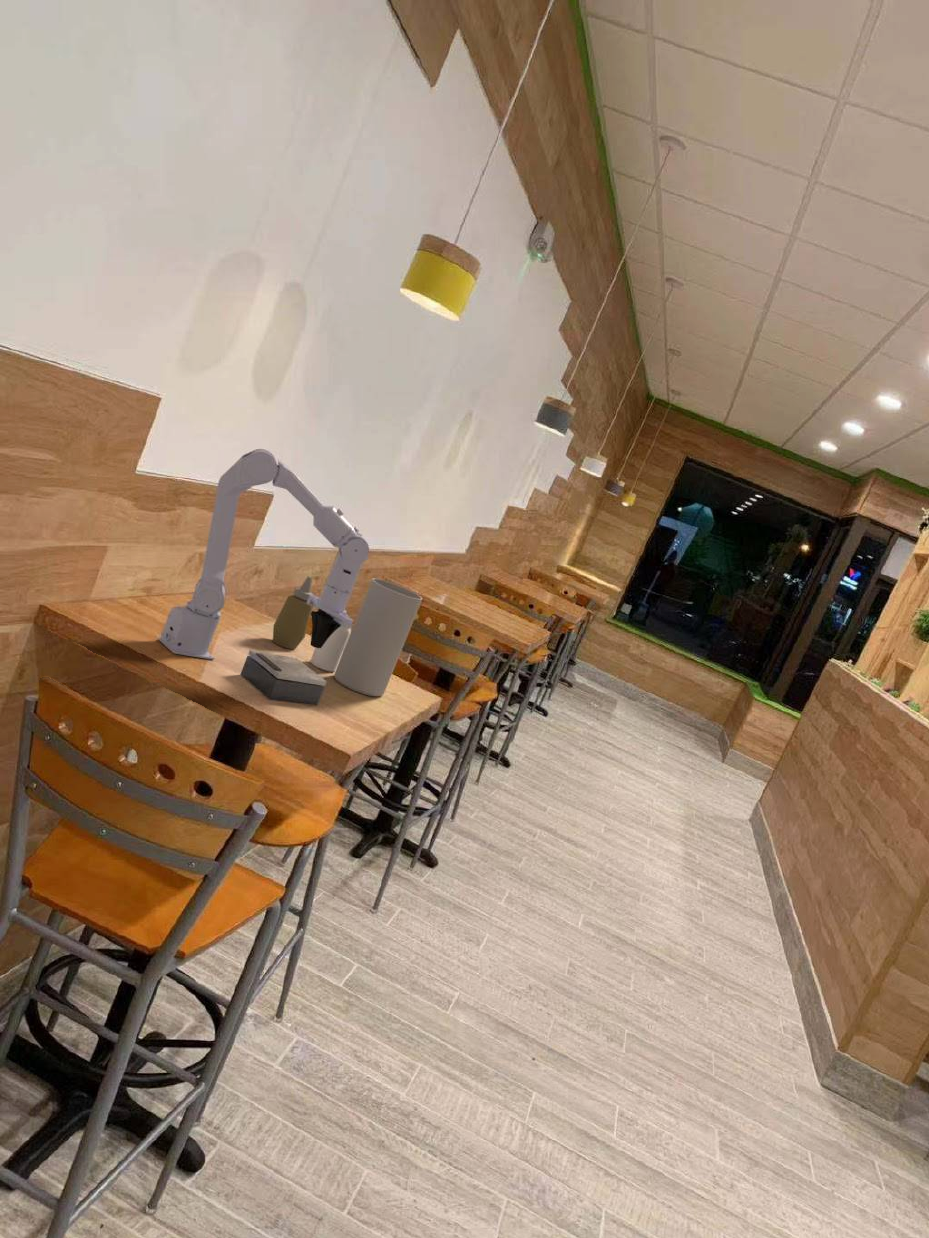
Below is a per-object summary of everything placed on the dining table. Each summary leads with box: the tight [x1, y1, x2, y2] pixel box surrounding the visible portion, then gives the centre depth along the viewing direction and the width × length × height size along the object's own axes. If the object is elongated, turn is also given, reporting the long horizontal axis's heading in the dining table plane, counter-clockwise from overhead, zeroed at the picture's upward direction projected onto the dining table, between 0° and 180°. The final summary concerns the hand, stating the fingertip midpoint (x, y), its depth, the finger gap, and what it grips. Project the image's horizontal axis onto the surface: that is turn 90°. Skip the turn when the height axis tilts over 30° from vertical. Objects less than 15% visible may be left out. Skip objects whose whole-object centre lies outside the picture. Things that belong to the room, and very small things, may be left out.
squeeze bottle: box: [272, 576, 314, 650], centre depth 224 cm, size 8×8×18 cm
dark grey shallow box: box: [239, 655, 325, 706], centre depth 188 cm, size 12×12×4 cm
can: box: [310, 626, 352, 673], centre depth 219 cm, size 6×6×12 cm
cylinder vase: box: [334, 577, 423, 697], centre depth 214 cm, size 12×12×25 cm
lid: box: [248, 649, 328, 687], centre depth 187 cm, size 12×12×1 cm
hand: (315, 646), depth 195 cm, fingers closed
